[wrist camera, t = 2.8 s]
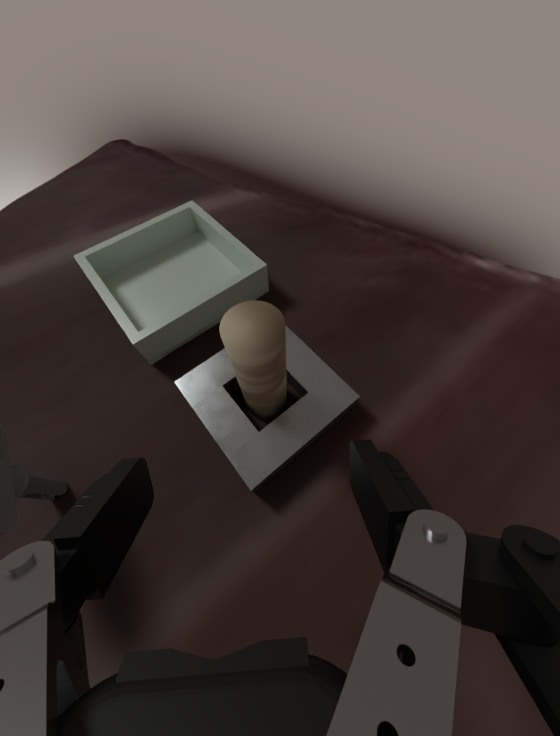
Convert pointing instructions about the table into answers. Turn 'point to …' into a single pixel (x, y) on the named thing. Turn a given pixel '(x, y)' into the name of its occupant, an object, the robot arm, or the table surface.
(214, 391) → the socket block
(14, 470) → the mechanical component
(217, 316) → the tray
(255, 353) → the dowel
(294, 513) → the table surface
